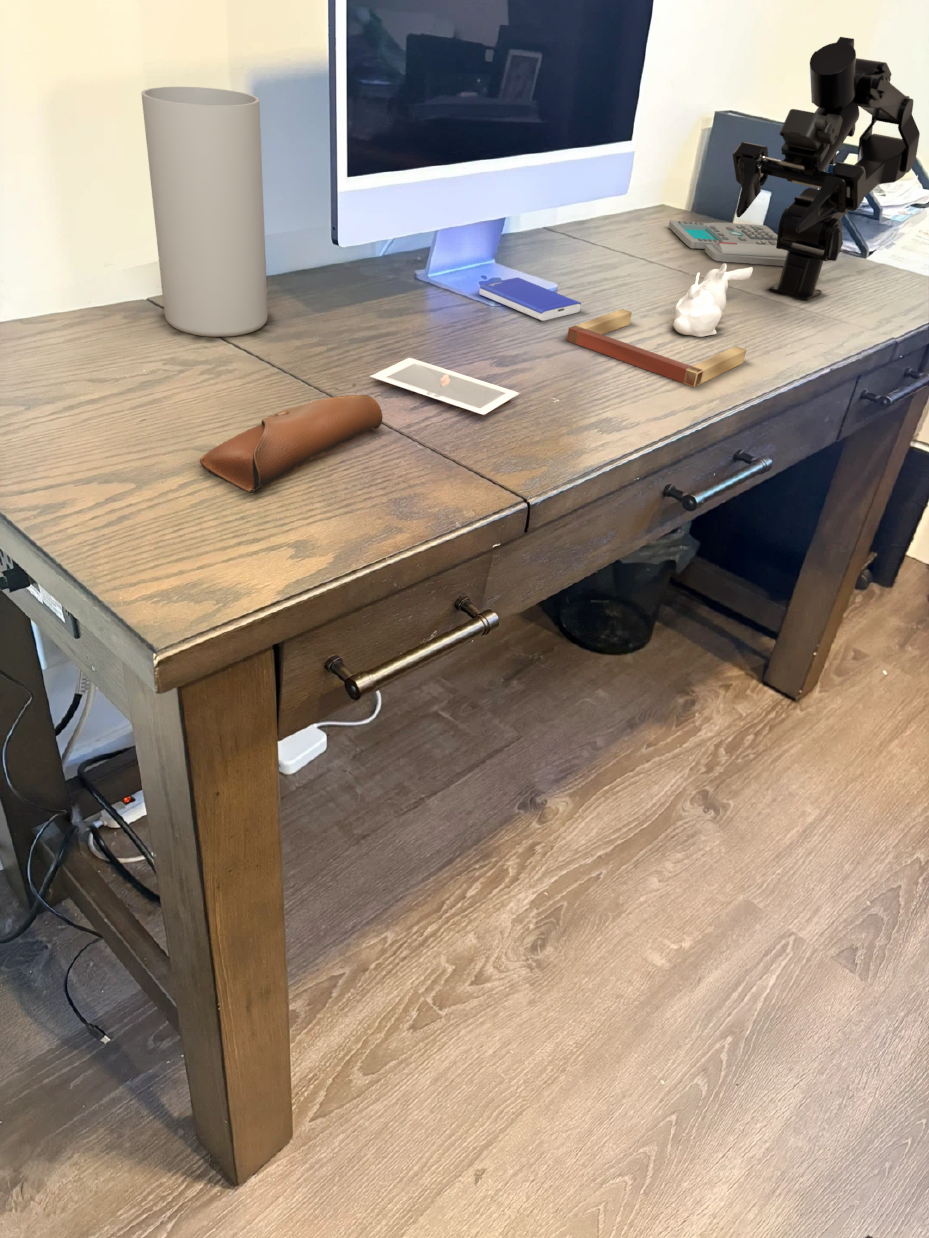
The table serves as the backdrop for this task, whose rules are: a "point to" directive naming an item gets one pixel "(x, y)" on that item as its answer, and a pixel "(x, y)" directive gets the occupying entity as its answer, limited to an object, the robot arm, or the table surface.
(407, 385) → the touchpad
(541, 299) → the hard drive
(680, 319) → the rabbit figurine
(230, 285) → the cylinder vase
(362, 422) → the sunglasses case
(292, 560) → the table surface
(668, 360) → the bay
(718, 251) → the office telephone
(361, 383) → the table surface
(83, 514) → the table surface
